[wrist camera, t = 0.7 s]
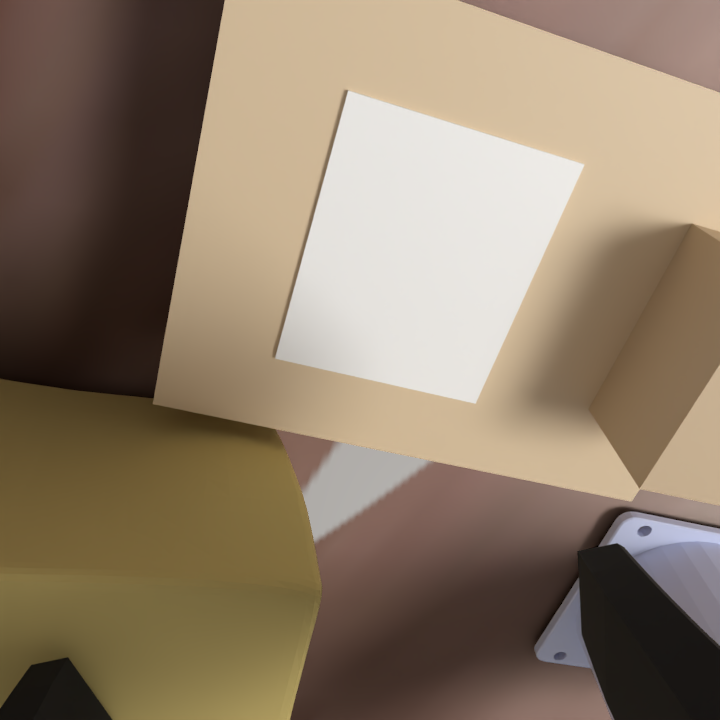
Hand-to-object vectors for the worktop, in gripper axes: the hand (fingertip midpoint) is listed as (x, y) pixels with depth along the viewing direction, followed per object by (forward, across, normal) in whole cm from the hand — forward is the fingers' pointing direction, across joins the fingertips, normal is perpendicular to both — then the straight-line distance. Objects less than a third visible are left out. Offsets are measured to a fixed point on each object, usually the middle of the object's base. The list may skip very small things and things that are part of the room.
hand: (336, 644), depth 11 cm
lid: (+7, -4, -2) cm, 9 cm away
